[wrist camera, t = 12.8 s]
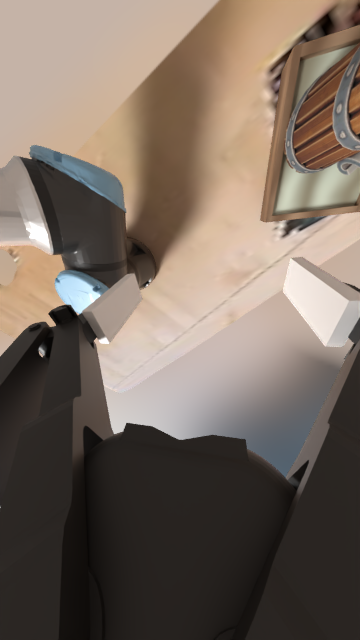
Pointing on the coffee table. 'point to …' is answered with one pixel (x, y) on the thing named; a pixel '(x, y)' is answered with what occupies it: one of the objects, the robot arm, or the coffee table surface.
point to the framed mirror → (282, 181)
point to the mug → (327, 121)
